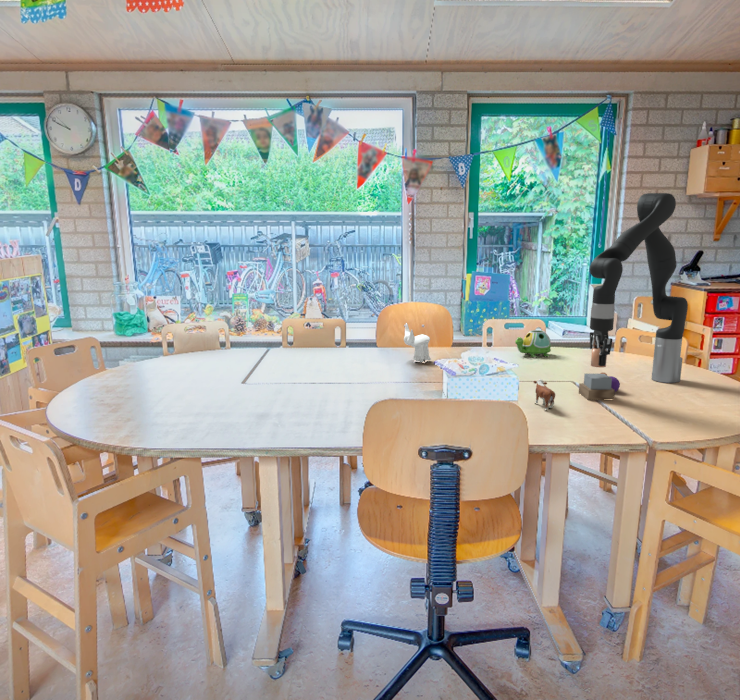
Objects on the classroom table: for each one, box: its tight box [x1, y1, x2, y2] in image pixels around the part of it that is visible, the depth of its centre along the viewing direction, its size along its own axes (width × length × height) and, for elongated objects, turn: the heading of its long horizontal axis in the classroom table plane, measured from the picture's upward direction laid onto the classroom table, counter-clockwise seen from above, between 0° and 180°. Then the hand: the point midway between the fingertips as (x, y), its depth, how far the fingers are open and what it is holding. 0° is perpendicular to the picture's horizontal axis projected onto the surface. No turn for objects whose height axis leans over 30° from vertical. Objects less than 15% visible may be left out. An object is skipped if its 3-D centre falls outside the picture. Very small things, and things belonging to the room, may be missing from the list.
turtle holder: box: [515, 329, 552, 358], centre depth 262 cm, size 12×18×12 cm
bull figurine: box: [533, 378, 556, 411], centre depth 184 cm, size 4×13×8 cm, turn 2°
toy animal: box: [403, 322, 432, 363], centre depth 252 cm, size 20×12×17 cm, turn 3°
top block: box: [583, 373, 612, 390], centre depth 194 cm, size 7×7×4 cm
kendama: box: [599, 372, 621, 393], centre depth 208 cm, size 6×6×20 cm
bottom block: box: [578, 382, 616, 401], centre depth 195 cm, size 9×9×4 cm
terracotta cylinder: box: [590, 348, 608, 368], centre depth 192 cm, size 5×5×6 cm
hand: (598, 363), depth 192 cm, fingers closed on terracotta cylinder, 5 cm apart
